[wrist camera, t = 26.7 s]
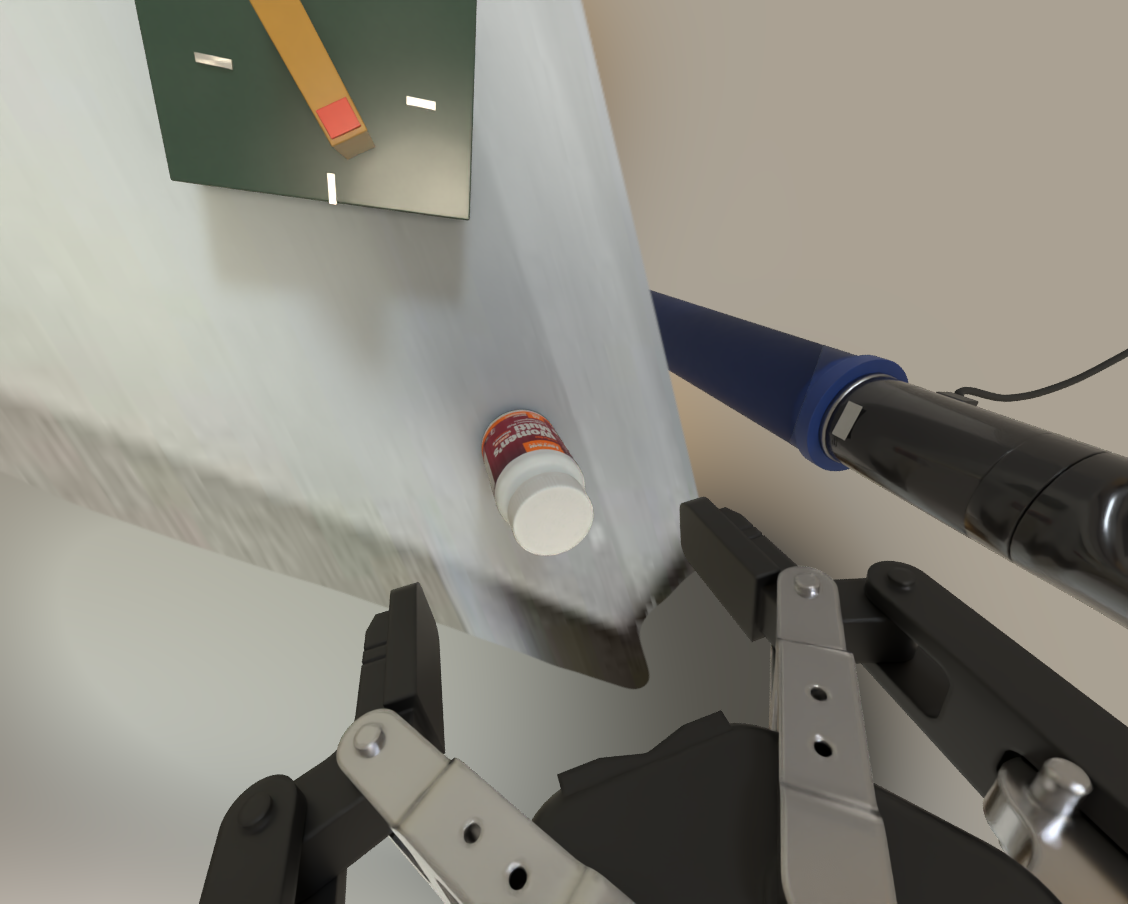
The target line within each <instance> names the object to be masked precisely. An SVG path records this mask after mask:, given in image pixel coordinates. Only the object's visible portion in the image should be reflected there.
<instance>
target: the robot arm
mask: <svg viewBox="0 0 1128 904" xmlns="http://www.w3.org/2000/svg"><path fill="white" fill-rule="evenodd" d="M1126 357H1128V349H1126V350H1125V351H1123V352H1121V353H1119V354H1117V355H1116V356H1114V357H1112V358H1110V359H1108V360H1106V361H1104V362H1102V363H1101V364H1099V365H1097V366H1095V367H1093V368H1091V369H1089V370H1087V371H1085V372H1083V373H1081V374H1079V375H1077V376H1075V377H1072V378H1070V379H1068V380H1065V381H1062V382H1060V383H1057V384H1054V385H1051V386H1048V387H1045V388H1042V389H1039V390H1035V391H1031V392H1026V393H1021V394H1012V395H1001V394H995V393H991V392H988V391H984V390H980V389H977V388H972V387H963V388H960V389H958V390H956V391H955V393H952V392H936V393H935V392H932V391H930V390H926V389H924V388H921V387H918V386H915V385H912V384H909V383H906V382H904V381H901V380H898V379H896V378H894V377H892V376H890V375H887V374H883V373H870V374H866V375H863V376H861V377H858V378H857V379H855V380H853V381H852V382H850V383H849V384H847V385H846V386H845V387H844V388H843V389H842V390H841V391H840V392H839V393H838V394H837V395H836V396H835V397H834V399H833V400H832V401H831V403H830V404H829V406H828V407H827V409H826V411H825V413H824V415H823V418H822V420H821V424H820V428H819V444H820V447H821V450H822V451H823V453H824V454H825V455H826V456H827V457H829V458H830V459H832V460H834V461H836V462H838V463H841V464H843V465H845V466H846V467H848V468H850V469H851V470H853V471H855V472H857V473H858V474H860V475H861V476H863V477H865V478H867V479H868V480H870V481H872V482H873V483H875V484H877V485H879V486H880V487H882V488H884V489H885V490H888V491H889V492H891V493H893V494H894V495H896V496H898V497H899V498H901V499H903V500H904V501H906V502H908V503H910V504H911V505H913V506H915V507H917V508H918V509H920V510H922V511H924V512H925V513H927V514H929V515H931V516H932V517H934V518H936V519H937V520H939V521H941V522H942V523H944V524H946V525H948V526H949V527H951V528H953V529H954V530H956V531H958V532H960V533H961V534H963V535H965V536H967V537H968V538H970V539H972V540H974V541H976V542H977V543H979V544H981V545H982V546H984V547H986V548H988V549H989V550H991V551H993V552H995V553H996V554H998V555H1000V556H1002V557H1003V558H1005V559H1007V560H1008V561H1010V562H1012V563H1014V564H1016V565H1017V566H1019V567H1021V568H1022V569H1024V570H1026V571H1028V572H1029V573H1031V574H1033V575H1035V576H1037V577H1038V578H1040V579H1042V580H1044V581H1046V582H1047V583H1049V584H1051V585H1053V586H1054V587H1056V588H1058V589H1060V590H1061V591H1063V592H1065V593H1067V594H1068V595H1070V596H1072V597H1074V598H1075V599H1077V600H1079V601H1081V602H1082V603H1084V604H1086V605H1088V606H1089V607H1091V608H1093V609H1094V610H1096V611H1098V612H1100V613H1101V614H1103V615H1105V616H1106V617H1108V618H1110V619H1111V620H1113V621H1115V622H1117V623H1118V624H1120V625H1122V626H1123V627H1125V628H1127V629H1128V458H1127V457H1124V456H1121V455H1118V454H1115V453H1112V452H1109V451H1107V450H1104V449H1101V448H1098V447H1095V446H1092V445H1089V444H1086V443H1083V442H1080V441H1077V440H1074V439H1071V438H1068V437H1065V436H1062V435H1059V434H1056V433H1053V432H1050V431H1047V430H1044V429H1041V428H1038V427H1035V426H1032V425H1029V424H1026V423H1024V422H1021V421H1018V420H1015V419H1011V418H1009V417H1006V416H1003V415H1000V414H997V413H994V412H991V411H988V410H985V409H982V408H980V407H977V404H978V401H976V400H973V399H969V398H967V397H964V394H970V395H975V396H978V397H981V398H985V399H990V400H994V401H1003V402H1011V401H1020V400H1026V399H1031V398H1035V397H1039V396H1042V395H1046V394H1049V393H1052V392H1055V391H1058V390H1060V389H1063V388H1066V387H1068V386H1071V385H1073V384H1075V383H1078V382H1080V381H1082V380H1084V379H1086V378H1088V377H1090V376H1092V375H1094V374H1096V373H1098V372H1100V371H1102V370H1104V369H1106V368H1107V367H1109V366H1111V365H1113V364H1115V363H1117V362H1119V361H1121V360H1122V359H1124V358H1126ZM680 533H681V546H682V549H683V552H684V555H685V557H686V559H687V560H688V562H689V563H690V564H691V566H692V567H693V568H694V569H695V571H696V572H697V573H698V574H699V576H700V577H701V578H702V580H703V581H704V582H705V583H706V584H707V586H708V587H709V588H710V590H711V591H712V592H713V593H714V595H715V596H716V597H717V598H718V600H719V601H720V602H721V604H722V605H723V606H724V607H725V609H726V610H727V611H728V612H729V614H730V615H731V616H732V617H733V619H734V620H735V621H736V623H737V624H738V625H739V626H740V628H741V629H742V630H743V631H744V633H745V634H746V635H747V636H748V638H749V639H750V640H751V641H752V642H753V641H756V640H758V639H761V638H764V637H766V638H767V639H768V640H769V642H770V643H771V657H770V659H771V660H770V714H769V729H768V728H765V727H761V726H757V725H752V724H746V723H729V722H728V721H727V719H726V717H725V716H724V714H723V712H722V711H718V712H716V713H713V714H711V715H708V716H705V717H703V718H700V719H698V720H695V721H693V722H690V723H687V724H685V725H683V726H681V727H680V728H679V729H678V730H676V731H675V732H674V733H672V734H671V735H670V736H668V737H667V738H666V739H665V740H663V741H662V742H661V743H659V744H658V745H657V746H656V747H654V748H653V749H652V750H650V751H649V752H647V753H644V754H635V755H624V756H614V757H604V758H598V759H596V760H593V761H590V762H588V763H585V764H583V765H580V766H578V767H575V768H573V769H570V770H567V771H565V772H563V773H560V774H558V775H557V776H558V779H559V783H560V787H561V789H560V790H559V791H557V792H556V793H555V794H554V795H552V797H550V798H549V799H548V801H546V802H545V803H544V804H543V806H542V807H541V808H540V809H539V810H538V812H537V813H536V814H535V816H534V818H533V819H532V821H531V820H530V819H529V818H528V817H527V816H525V815H524V814H523V813H522V812H521V811H520V810H519V809H517V808H516V807H515V806H514V805H513V804H511V803H510V802H509V801H508V800H507V799H506V798H504V797H503V796H502V795H501V794H500V793H499V792H498V791H496V790H495V789H494V788H493V787H492V786H491V785H489V784H488V783H487V782H486V781H485V780H484V779H482V778H481V777H480V776H479V775H478V774H477V773H476V772H474V771H473V770H472V769H470V767H468V766H467V765H466V764H465V763H464V762H462V761H461V760H459V759H457V758H453V759H452V760H450V759H448V758H447V757H446V756H445V755H444V754H445V741H444V722H443V703H442V685H441V666H440V665H441V664H440V646H439V636H438V630H437V626H436V622H435V619H434V617H433V614H432V612H431V609H430V607H429V604H428V602H427V600H426V597H425V595H424V592H423V590H422V587H421V585H420V583H419V582H416V583H413V584H410V585H407V586H403V587H400V588H397V589H393V590H391V593H390V605H389V611H385V612H382V613H379V614H376V615H375V616H374V618H373V620H372V622H371V623H370V625H369V627H368V629H367V631H366V635H365V643H364V652H363V659H362V663H363V665H362V668H361V675H360V683H359V691H358V700H357V707H356V716H355V720H354V722H353V723H352V724H351V726H349V728H348V729H347V730H346V731H345V733H344V734H343V736H342V738H341V740H340V742H339V744H338V748H337V750H336V751H335V752H334V753H333V754H332V755H331V756H330V757H328V758H327V759H326V760H324V761H323V762H321V763H320V764H319V765H317V766H315V767H314V768H312V769H311V770H309V771H308V772H306V773H305V774H303V775H302V776H300V777H299V778H297V779H296V780H294V781H293V780H292V779H291V778H290V777H288V776H285V775H272V776H269V777H266V778H264V779H262V780H259V781H258V782H257V783H255V784H253V785H252V786H250V787H249V788H248V789H247V790H245V791H244V792H243V793H242V794H241V795H240V796H239V797H238V798H237V799H236V800H235V802H234V803H233V804H232V806H231V807H230V808H229V810H228V812H227V813H226V815H225V817H224V819H223V821H222V823H221V826H220V829H219V832H218V836H217V839H216V843H215V847H214V851H213V854H212V858H211V861H210V865H209V869H208V872H207V876H206V880H205V883H204V887H203V891H202V894H201V898H200V902H199V904H345V893H346V875H347V868H348V867H349V866H350V865H351V864H353V863H354V862H356V861H357V860H358V859H359V858H361V857H362V856H363V855H364V854H366V853H367V852H368V851H369V850H371V849H372V848H373V847H375V846H376V845H377V844H379V843H380V842H381V841H382V840H383V839H385V838H386V837H387V836H388V837H389V838H390V839H391V840H392V841H393V843H394V844H395V845H396V846H397V847H398V849H399V850H400V851H401V852H402V853H403V854H404V856H405V857H406V858H407V859H408V860H409V861H410V863H411V864H412V865H413V866H414V867H415V868H416V870H417V871H418V872H419V873H420V874H421V875H422V877H423V878H424V879H425V880H426V881H427V882H428V884H430V886H431V887H432V888H433V889H434V891H435V892H436V893H437V894H438V896H439V897H440V898H441V899H442V901H443V902H444V903H445V904H1128V727H1127V726H1126V725H1124V724H1123V723H1122V722H1120V721H1119V720H1118V719H1116V718H1115V717H1114V716H1112V715H1111V714H1110V713H1109V712H1107V711H1106V710H1105V709H1103V708H1102V707H1101V706H1099V705H1098V704H1097V703H1095V702H1094V701H1093V700H1091V699H1090V698H1089V697H1087V696H1086V695H1085V694H1083V693H1082V692H1081V691H1079V690H1078V689H1077V688H1075V687H1074V686H1073V685H1072V684H1070V683H1069V682H1068V681H1066V680H1065V679H1064V678H1062V677H1061V676H1060V675H1058V674H1057V673H1056V672H1054V671H1053V670H1052V669H1051V668H1049V667H1048V666H1047V665H1045V664H1044V663H1043V662H1041V661H1040V660H1039V659H1037V658H1036V657H1035V656H1033V655H1032V654H1031V653H1029V652H1028V651H1027V650H1025V649H1024V648H1023V647H1021V646H1020V645H1019V644H1018V643H1016V642H1015V641H1014V640H1012V639H1011V638H1010V637H1008V636H1007V635H1005V634H1004V633H1003V632H1002V631H1000V630H999V629H997V628H996V627H995V626H994V625H992V624H991V623H990V622H988V621H987V620H986V619H985V618H983V617H982V616H981V615H979V614H978V613H977V612H975V611H974V610H973V609H971V608H970V607H969V606H967V605H966V604H965V603H963V602H962V601H961V600H960V599H958V598H957V597H956V596H954V595H953V594H952V593H950V592H949V591H948V590H946V589H945V588H944V587H942V586H941V585H940V584H939V583H937V582H936V581H935V580H933V579H932V578H930V577H929V576H928V575H926V574H925V573H924V572H922V571H921V570H919V569H917V568H916V567H913V566H911V565H908V564H905V563H901V562H895V561H882V562H878V563H875V564H873V565H872V566H871V567H870V568H869V569H868V573H867V577H866V578H859V579H840V580H833V579H832V578H831V577H829V576H828V575H827V574H825V573H823V572H822V571H820V570H817V569H814V568H811V567H806V566H797V565H796V564H795V563H794V562H793V561H792V560H791V559H790V558H788V557H787V556H786V555H785V554H784V553H783V552H782V551H781V550H779V548H777V547H776V546H775V545H774V544H773V543H772V542H771V541H770V540H769V539H768V538H767V537H765V536H763V535H762V533H761V532H760V531H759V530H758V529H757V528H756V527H753V525H752V524H751V523H750V522H749V521H748V520H747V519H746V518H744V517H743V516H742V515H741V514H739V513H737V512H735V511H732V510H730V509H728V508H726V507H724V508H721V509H718V508H717V507H716V506H715V505H714V504H713V503H712V502H711V501H710V500H709V499H708V498H706V497H700V498H697V499H694V500H690V501H687V502H684V503H681V505H680ZM856 663H861V664H862V665H863V666H864V667H865V668H866V669H867V671H868V672H869V673H870V674H871V675H872V676H873V677H874V678H875V679H876V681H877V682H878V683H879V684H880V685H881V686H882V687H883V688H884V689H885V690H886V691H887V693H888V694H889V695H890V696H891V697H892V698H893V699H894V700H895V701H896V702H897V704H898V705H899V706H900V707H901V708H902V709H903V710H904V711H905V712H906V713H907V715H909V717H910V718H911V719H912V720H913V721H914V722H915V723H916V724H917V725H918V726H919V728H920V729H921V730H922V731H923V732H924V733H925V734H926V735H927V736H928V737H929V739H930V740H931V741H932V742H933V743H934V744H935V745H936V746H937V747H938V748H939V750H940V751H941V752H942V753H943V754H944V755H945V756H946V757H947V758H948V759H949V760H950V762H951V763H952V764H953V765H954V766H955V767H956V768H957V769H958V770H959V772H960V773H961V774H962V775H963V776H964V777H965V778H966V779H967V780H968V781H969V783H970V784H971V785H972V786H973V787H974V788H975V789H976V790H977V791H978V792H979V793H980V795H981V796H982V797H983V798H984V801H983V811H984V814H985V818H986V820H987V822H988V824H989V826H990V827H991V829H992V831H993V832H994V834H995V835H996V836H997V838H998V840H999V844H1000V846H1001V848H1002V849H1003V851H1004V852H1005V853H1004V852H1002V851H1000V850H999V849H997V848H995V847H994V846H992V845H990V844H989V843H987V842H985V841H983V840H981V839H979V838H977V837H975V836H973V835H972V834H969V833H968V832H966V831H964V830H962V829H960V828H958V827H956V826H954V825H952V824H951V823H949V822H947V821H945V820H943V819H941V818H939V817H937V816H935V815H934V814H932V813H930V812H928V811H926V810H924V809H922V808H920V807H918V806H917V805H915V804H913V803H911V802H909V801H907V800H905V799H903V798H901V797H900V796H898V795H896V794H894V793H892V792H890V791H888V790H886V789H884V788H883V787H881V786H878V785H877V784H875V783H873V778H872V771H871V765H870V758H869V752H868V745H867V738H866V732H865V725H864V719H863V712H862V706H861V700H860V693H859V686H858V679H857V673H856V666H855V664H856Z"/></svg>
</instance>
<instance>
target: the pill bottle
mask: <svg viewBox="0 0 1128 904" xmlns="http://www.w3.org/2000/svg"><path fill="white" fill-rule="evenodd" d="M481 449H482V456H483V460H484V464H485V467H486V471H487V474H488V477H489V481H490V484H491V488H492V491H493V494H494V498H495V501H496V505H497V508H498V510H499V512H500V514H501V516H502V517H503V518H504V520H505V521H506V522H507V523H508V524H510V526H511V528H512V531H513V534H514V537H515V539H516V540H517V542H518V543H519V545H520V546H521V547H522V548H524V549H525V550H527V551H528V552H530V553H533V554H537V555H543V556H549V555H556V554H560V553H563V552H565V551H568V550H569V549H571V548H573V547H574V546H576V545H577V544H578V543H579V542H580V541H582V539H583V538H584V537H585V536H586V534H587V533H588V531H589V529H590V527H591V525H592V521H593V506H592V503H591V501H590V499H589V497H588V496H587V494H586V492H585V481H584V477H583V474H582V472H581V470H580V468H579V466H578V464H577V463H576V462H575V460H574V459H573V457H572V456H571V454H570V453H569V451H568V450H567V448H566V447H565V445H564V443H563V442H562V440H561V439H560V437H559V436H558V434H557V433H556V431H555V429H554V428H553V427H552V425H551V424H550V423H549V421H548V420H547V419H546V418H544V417H543V416H542V415H540V414H538V413H536V412H533V411H529V410H515V411H510V412H507V413H505V414H503V415H501V416H499V417H498V418H496V419H495V420H494V421H493V422H492V423H491V424H490V425H489V426H488V428H487V430H486V431H485V433H484V436H483V439H482V445H481Z"/></svg>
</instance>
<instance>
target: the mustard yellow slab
mask: <svg viewBox="0 0 1128 904" xmlns="http://www.w3.org/2000/svg"><path fill="white" fill-rule="evenodd" d="M249 1H250V3H251V4H252V6H253V8H254V10H255V12H256V13H257V15H258V17H259V19H260V20H261V22H262V24H263V26H264V27H265V29H266V31H267V33H268V35H269V36H270V38H271V40H272V42H273V43H274V45H275V47H276V49H277V50H278V52H279V54H280V56H281V58H282V59H283V61H284V63H285V65H286V66H287V68H288V70H289V72H290V74H291V75H292V77H293V79H294V81H295V82H296V84H297V86H298V88H299V89H300V91H301V93H302V95H303V97H304V98H305V100H306V102H307V104H308V105H309V107H310V109H311V111H312V112H313V114H314V116H315V118H316V120H317V121H318V123H319V125H320V127H321V128H322V130H323V132H324V134H325V136H326V137H327V139H328V141H329V143H330V144H331V146H332V147H333V148H334V149H336V150H337V151H338V152H339V153H340V154H341V155H342V156H344V157H345V158H346V159H347V160H348V159H350V158H353V157H355V156H357V155H359V154H361V153H363V152H365V151H368V150H370V149H372V148H374V147H375V144H374V142H373V140H372V138H371V136H370V134H369V132H368V130H367V128H366V126H365V124H364V122H363V120H362V118H361V116H360V115H359V113H358V111H357V109H356V107H355V105H354V103H353V101H352V99H351V97H350V95H349V93H348V91H347V90H346V88H345V86H344V84H343V82H342V80H341V78H340V76H339V74H338V72H337V70H336V68H335V67H334V65H333V63H332V61H331V59H330V57H329V55H328V53H327V51H326V49H325V47H324V45H323V43H322V42H321V40H320V38H319V36H318V34H317V32H316V30H315V28H314V26H313V24H312V22H311V20H310V18H309V17H308V15H307V13H306V11H305V9H304V7H303V5H302V3H301V1H300V0H249Z"/></svg>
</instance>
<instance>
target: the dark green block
mask: <svg viewBox="0 0 1128 904" xmlns="http://www.w3.org/2000/svg"><path fill="white" fill-rule="evenodd" d="M300 1H301V3H302V5H303V7H304V9H305V11H306V13H307V15H308V17H309V18H310V20H311V22H312V24H313V26H314V28H315V30H316V32H317V34H318V36H319V38H320V40H321V42H322V43H323V45H324V47H325V49H326V51H327V53H328V55H329V57H330V59H331V61H332V63H333V65H334V67H335V68H336V70H337V72H338V74H339V76H340V78H341V80H342V82H343V84H344V86H345V88H346V90H347V91H348V93H349V95H350V97H351V99H352V101H353V103H354V105H355V107H356V109H357V111H358V113H359V115H360V116H361V118H362V120H363V122H364V124H365V126H366V128H367V130H368V132H369V134H370V136H371V138H372V140H373V142H374V144H375V147H374V148H372V149H370V150H368V151H365V152H363V153H361V154H359V155H357V156H355V157H353V158H350V159H348V160H347V159H346V158H345V157H344V156H342V155H341V154H340V153H339V152H338V151H337V150H336V149H334V148H333V147H332V146H331V144H330V143H329V141H328V139H327V137H326V136H325V134H324V132H323V130H322V128H321V127H320V125H319V123H318V121H317V120H316V118H315V116H314V114H313V112H312V111H311V109H310V107H309V105H308V104H307V102H306V100H305V98H304V97H303V95H302V93H301V91H300V89H299V88H298V86H297V84H296V82H295V81H294V79H293V77H292V75H291V74H290V72H289V70H288V68H287V66H286V65H285V63H284V61H283V59H282V58H281V56H280V54H279V52H278V50H277V49H276V47H275V45H274V43H273V42H272V40H271V38H270V36H269V35H268V33H267V31H266V29H265V27H264V26H263V24H262V22H261V20H260V19H259V17H258V15H257V13H256V12H255V10H254V8H253V6H252V4H251V3H250V1H249V0H135V5H136V10H137V15H138V20H139V25H140V30H141V35H142V40H143V45H144V49H145V54H146V59H147V64H148V69H149V74H150V79H151V84H152V89H153V94H154V99H155V104H156V109H157V114H158V119H159V124H160V129H161V133H162V138H163V143H164V148H165V153H166V158H167V163H168V168H169V173H170V178H171V180H173V181H179V182H186V183H193V184H201V185H208V186H215V187H223V188H230V189H238V190H245V191H253V192H260V193H267V194H275V195H282V196H290V197H297V198H305V199H312V200H319V201H327V202H329V204H334V205H337V203H342V204H349V205H357V206H364V207H371V208H379V209H386V210H394V211H401V212H409V213H416V214H423V215H431V216H438V217H446V218H453V219H461V220H469V219H470V191H471V160H472V130H473V99H474V69H475V38H476V7H477V0H300Z"/></svg>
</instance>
